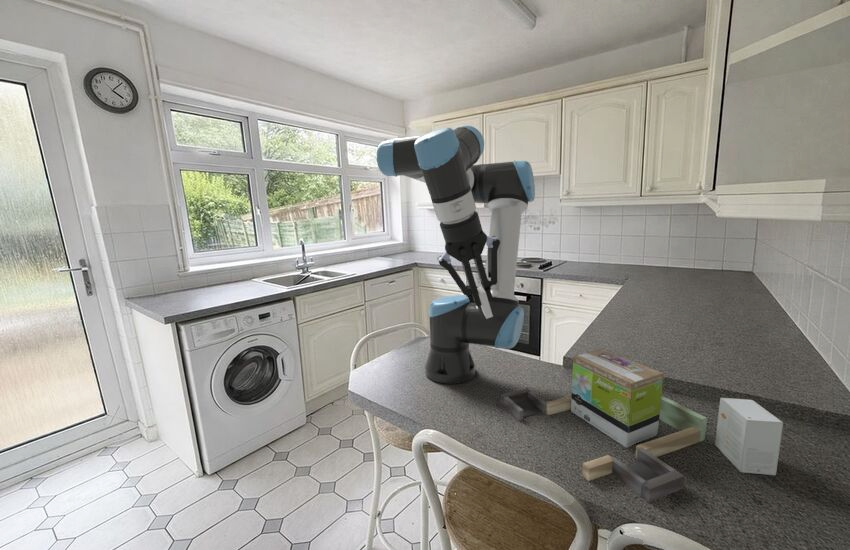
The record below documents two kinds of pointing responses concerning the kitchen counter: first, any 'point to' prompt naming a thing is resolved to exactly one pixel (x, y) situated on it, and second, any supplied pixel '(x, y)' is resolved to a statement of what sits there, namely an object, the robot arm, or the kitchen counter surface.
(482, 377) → the kitchen counter surface
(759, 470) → the small box
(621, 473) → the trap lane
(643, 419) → the tea box
